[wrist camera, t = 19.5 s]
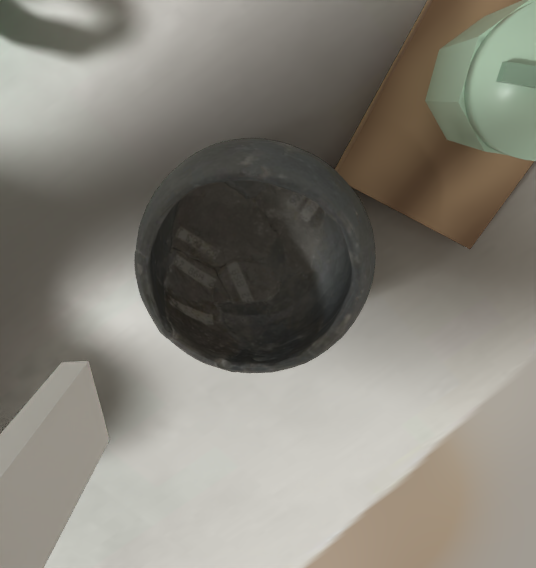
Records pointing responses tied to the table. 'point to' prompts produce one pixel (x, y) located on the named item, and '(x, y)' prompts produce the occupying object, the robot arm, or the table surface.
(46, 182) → the table surface
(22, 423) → the robot arm
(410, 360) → the table surface
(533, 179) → the table surface
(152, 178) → the table surface
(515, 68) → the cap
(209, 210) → the bowl
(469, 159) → the stud block
